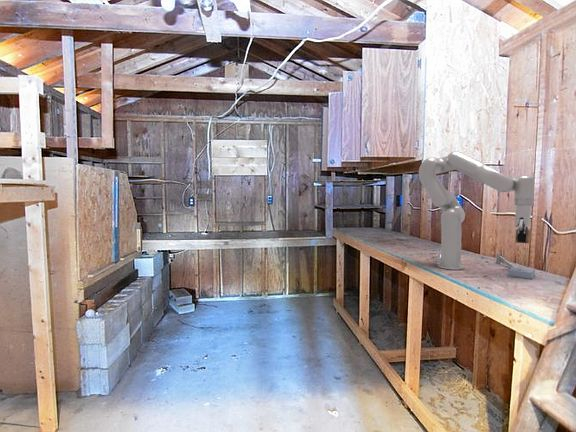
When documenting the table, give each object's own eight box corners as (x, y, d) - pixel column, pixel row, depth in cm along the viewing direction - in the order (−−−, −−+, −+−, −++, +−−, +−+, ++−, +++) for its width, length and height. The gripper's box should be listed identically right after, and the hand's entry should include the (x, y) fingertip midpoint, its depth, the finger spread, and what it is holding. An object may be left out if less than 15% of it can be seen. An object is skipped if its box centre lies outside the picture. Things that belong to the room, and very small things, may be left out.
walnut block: (515, 242, 164) (515, 229, 163) (517, 241, 167) (517, 228, 167) (528, 243, 160) (528, 230, 160) (530, 242, 164) (530, 229, 164)
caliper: (495, 263, 194) (496, 252, 194) (497, 263, 194) (498, 252, 194) (518, 272, 174) (519, 259, 173) (520, 272, 174) (521, 259, 173)
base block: (507, 276, 165) (507, 269, 164) (511, 272, 171) (511, 266, 171) (531, 279, 158) (532, 272, 158) (534, 275, 165) (535, 269, 165)
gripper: (517, 202, 171) (516, 238, 173) (510, 203, 159) (509, 242, 160) (536, 202, 166) (535, 240, 167) (530, 203, 154) (529, 244, 155)
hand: (522, 240), depth 164 cm, fingers closed on walnut block, 5 cm apart
